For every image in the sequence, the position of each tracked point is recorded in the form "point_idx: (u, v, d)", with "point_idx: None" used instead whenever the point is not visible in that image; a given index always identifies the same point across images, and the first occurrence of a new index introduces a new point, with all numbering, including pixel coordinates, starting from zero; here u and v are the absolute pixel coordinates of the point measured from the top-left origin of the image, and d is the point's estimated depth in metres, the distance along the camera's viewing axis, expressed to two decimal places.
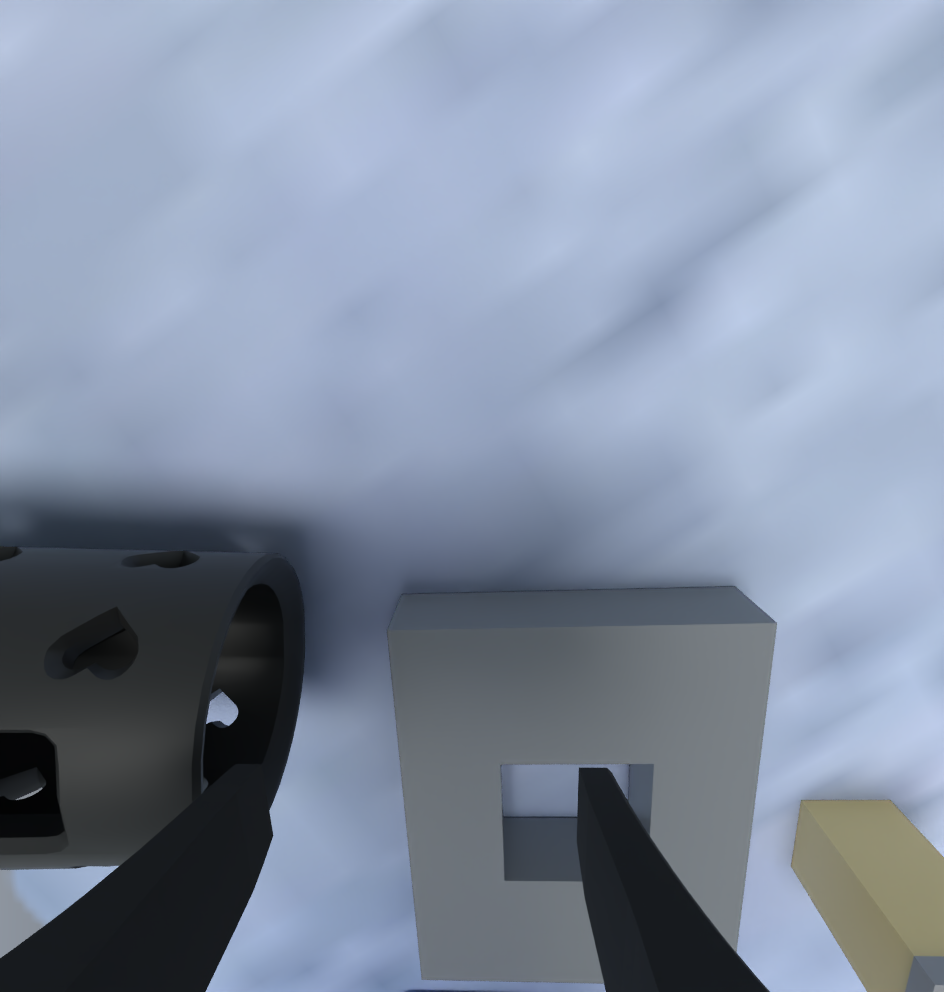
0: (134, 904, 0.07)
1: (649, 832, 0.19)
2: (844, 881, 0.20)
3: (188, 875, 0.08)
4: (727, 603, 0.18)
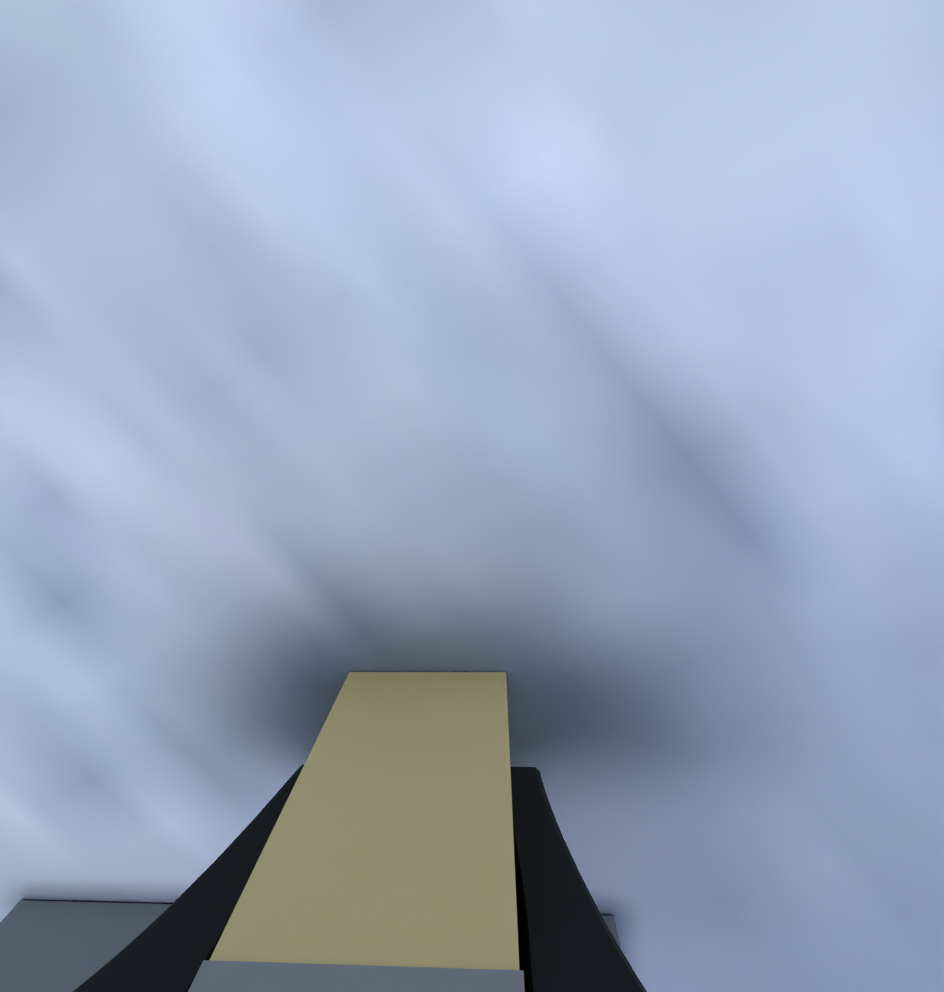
0: (232, 906, 0.07)
1: None
2: None
3: None
4: None
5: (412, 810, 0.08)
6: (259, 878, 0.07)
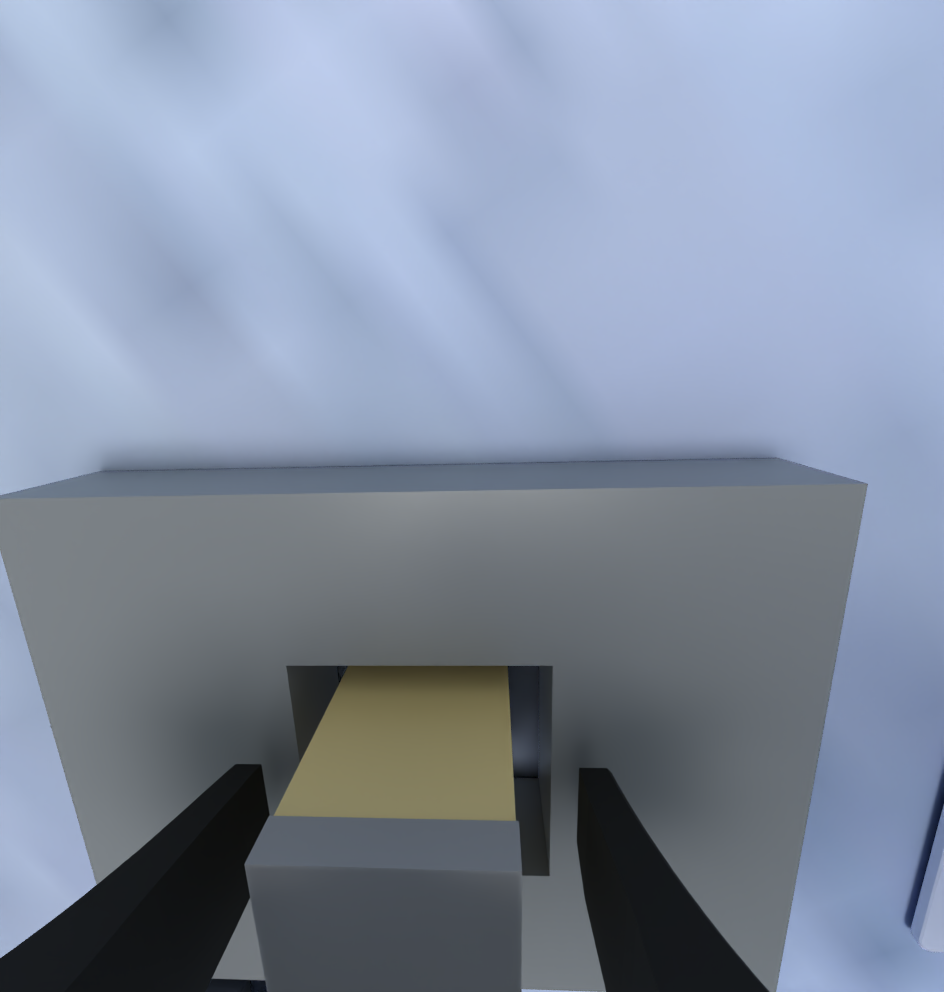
0: (134, 904, 0.07)
1: (438, 663, 0.11)
2: None
3: (188, 875, 0.08)
4: None
5: (428, 722, 0.10)
6: (306, 766, 0.09)
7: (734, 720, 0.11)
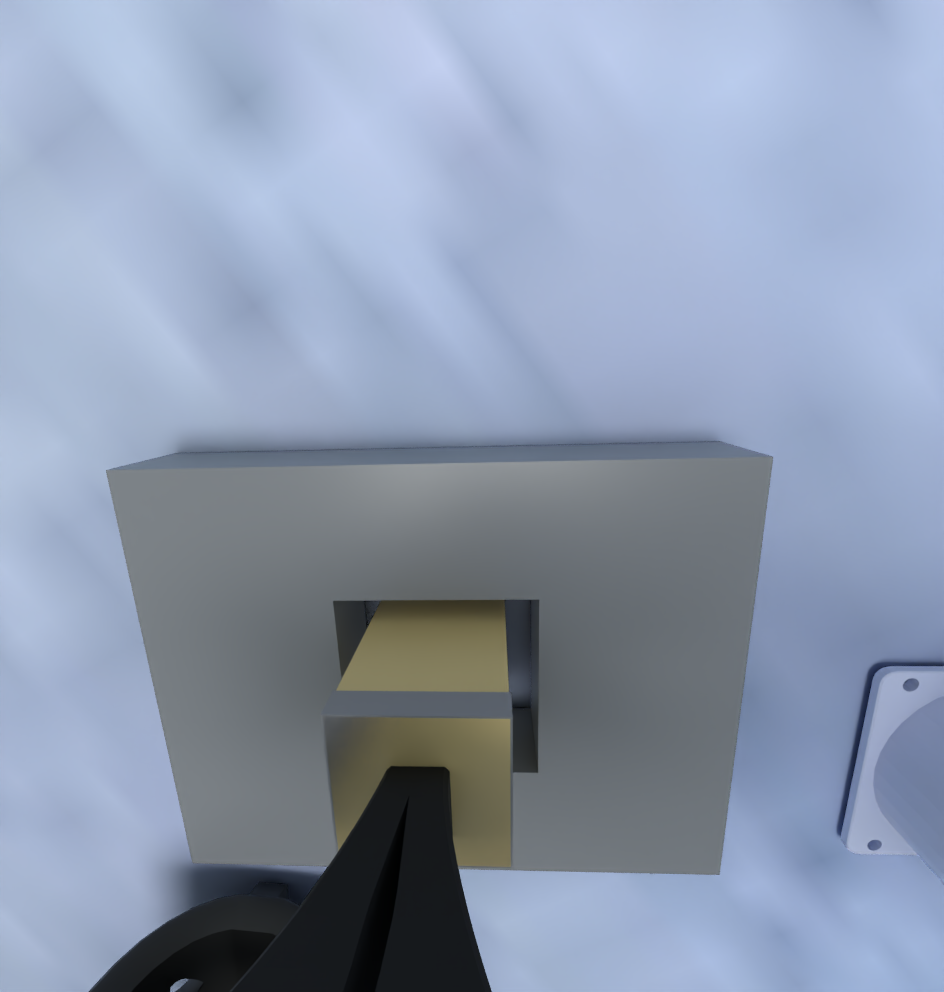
0: (362, 910, 0.07)
1: (450, 598, 0.14)
2: None
3: (389, 879, 0.08)
4: None
5: (443, 640, 0.13)
6: (355, 664, 0.12)
7: (679, 642, 0.14)
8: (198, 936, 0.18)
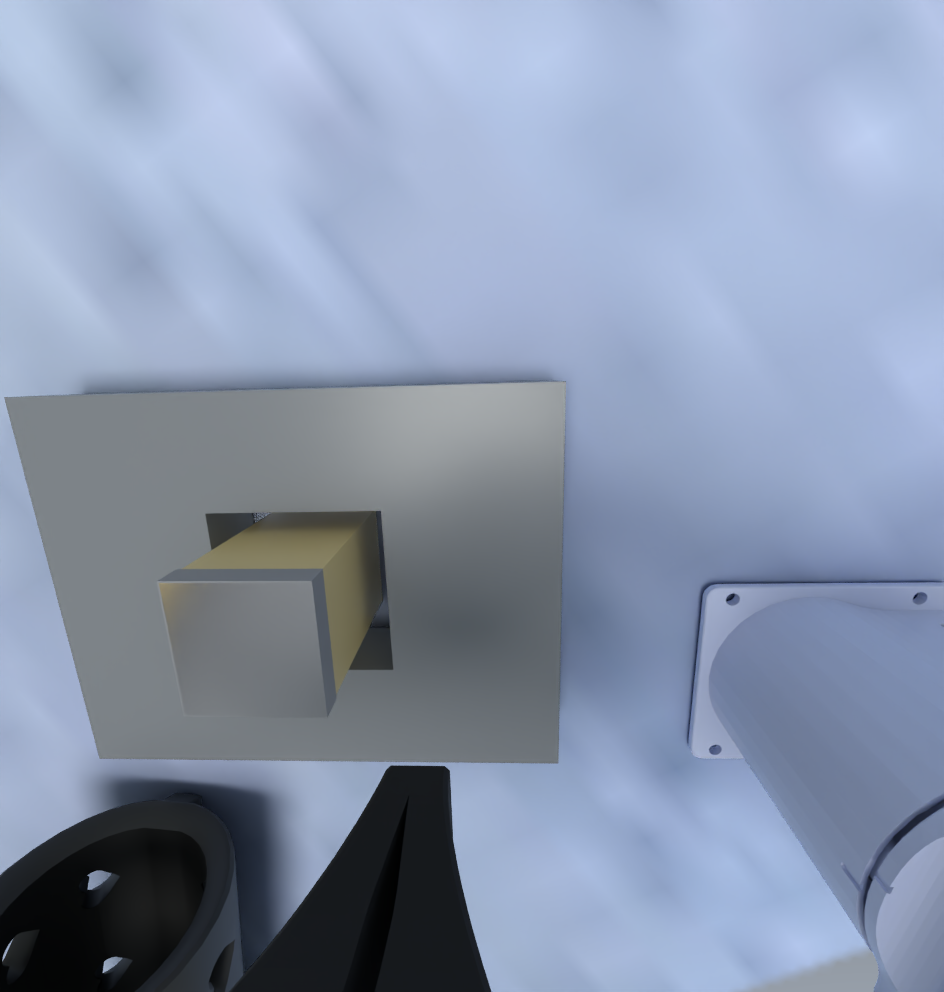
0: (361, 910, 0.07)
1: (306, 511, 0.16)
2: None
3: (388, 879, 0.08)
4: None
5: (293, 542, 0.15)
6: (206, 555, 0.14)
7: (503, 548, 0.16)
8: (112, 832, 0.20)
